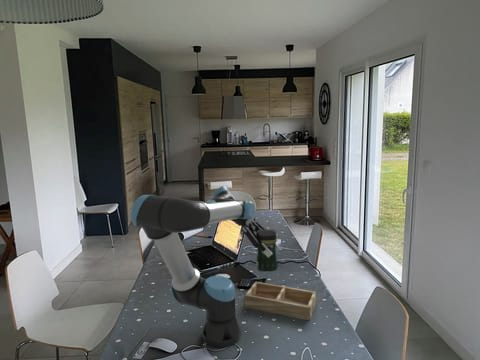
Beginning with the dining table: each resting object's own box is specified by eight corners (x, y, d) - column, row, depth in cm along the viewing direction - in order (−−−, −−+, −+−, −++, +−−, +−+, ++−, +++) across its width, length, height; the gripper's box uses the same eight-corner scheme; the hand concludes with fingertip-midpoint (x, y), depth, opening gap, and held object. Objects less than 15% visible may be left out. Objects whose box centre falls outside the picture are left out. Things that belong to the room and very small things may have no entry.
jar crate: (309, 320, 152) (309, 307, 151) (245, 307, 163) (244, 295, 162) (316, 303, 165) (316, 291, 164) (255, 292, 176) (255, 281, 175)
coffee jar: (276, 264, 169) (276, 227, 165) (278, 272, 161) (277, 232, 157) (255, 265, 169) (255, 227, 165) (256, 272, 161) (255, 233, 157)
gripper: (243, 213, 176) (274, 248, 173) (225, 226, 157) (260, 265, 154) (253, 203, 173) (285, 239, 170) (236, 215, 154) (272, 255, 151)
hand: (273, 251), depth 162 cm, fingers closed on coffee jar, 8 cm apart
